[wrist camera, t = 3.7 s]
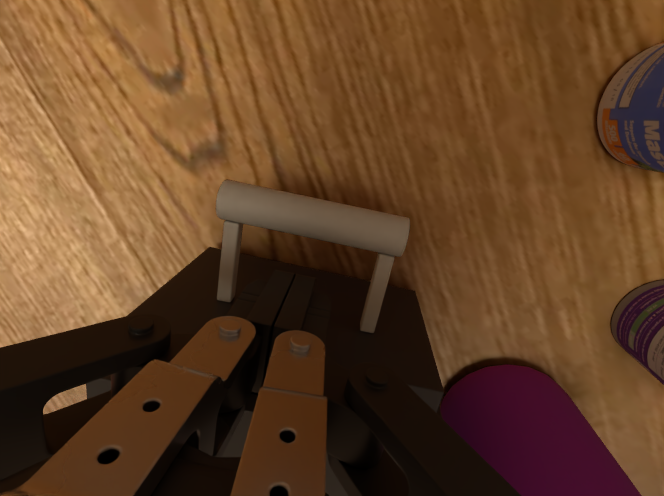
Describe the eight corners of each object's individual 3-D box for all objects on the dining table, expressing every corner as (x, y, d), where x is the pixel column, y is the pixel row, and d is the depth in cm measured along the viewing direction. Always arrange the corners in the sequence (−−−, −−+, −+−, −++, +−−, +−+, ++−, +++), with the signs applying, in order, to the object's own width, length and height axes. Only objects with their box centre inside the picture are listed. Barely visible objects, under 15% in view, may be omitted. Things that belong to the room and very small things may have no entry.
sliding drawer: (216, 154, 18) (116, 180, 11) (442, 202, 18) (495, 260, 11) (194, 431, 25) (122, 564, 17) (360, 468, 24) (358, 618, 17)
